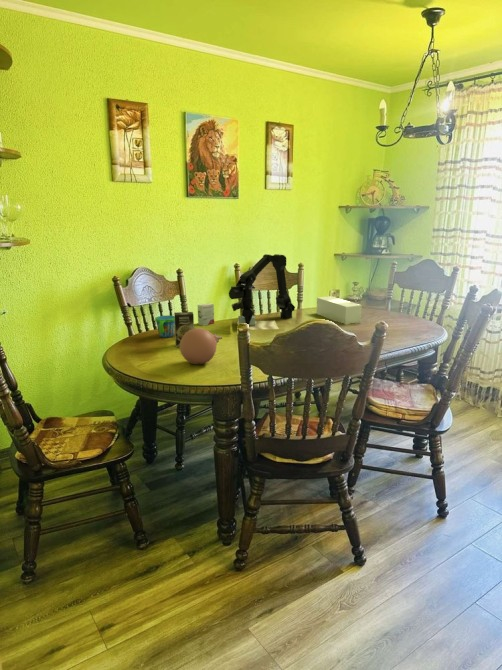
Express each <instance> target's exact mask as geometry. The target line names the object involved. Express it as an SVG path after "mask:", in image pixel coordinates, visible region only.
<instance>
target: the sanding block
mask: <svg viewBox="0 0 502 670" xmlns="http://www.w3.org/2000/svg"><path fill="white" fill-rule="evenodd" d="M237 320H238V324H239V323H246V322H245V317H244V316H242V315H238V319H237ZM255 321H256V317H255V315H253V316H252V318H251V321H250V323H249V326H255ZM238 324H237V325H238Z"/></svg>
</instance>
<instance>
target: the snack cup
mask: <svg viewBox="0 0 502 670" xmlns="http://www.w3.org/2000/svg"><path fill="white" fill-rule="evenodd" d="M154 320H155V322H156V323H155V324H156V327H157V331H158V336H159V338H164V339H165V338H172V337H173V336H174V335H175V317H174V315H169V314H167V315H159V316H158V315H157V316H156V317H155V319H154Z"/></svg>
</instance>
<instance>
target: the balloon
mask: <svg viewBox="0 0 502 670" xmlns="http://www.w3.org/2000/svg"><path fill="white" fill-rule="evenodd" d="M222 339H223V336H220V335H217V334H216V333H214V334H212V333H211V332H210V331H208V329H204V328H201V327H197V328H195V327H194V329H191V330H189V331H188V332H186V333H185V334H184V336H183V337H182V339H181V342H180V347H179V349H180V354H181V356H182V357H183V358H184V360H186V361H187V362H189V363H190V364H193V365H204V364H206V363H208V362H210V361H211V360H212V359H213V357H214V356H215V354H216V352H217V345H218V343H220V340H222Z"/></svg>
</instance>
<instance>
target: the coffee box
mask: <svg viewBox="0 0 502 670" xmlns="http://www.w3.org/2000/svg"><path fill="white" fill-rule="evenodd" d="M173 316H174V317H175V328H174V335H175V336H174V337H175V338H174V341H175V348H180V342H181V339H182V337H183V336H184V334H185V333H186V332H188V331H189V330H191V329H195V321H194V318H195V317H194V312H193V311H187V312H186V311H183V312H182V311H180V312H174V315H173Z"/></svg>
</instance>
